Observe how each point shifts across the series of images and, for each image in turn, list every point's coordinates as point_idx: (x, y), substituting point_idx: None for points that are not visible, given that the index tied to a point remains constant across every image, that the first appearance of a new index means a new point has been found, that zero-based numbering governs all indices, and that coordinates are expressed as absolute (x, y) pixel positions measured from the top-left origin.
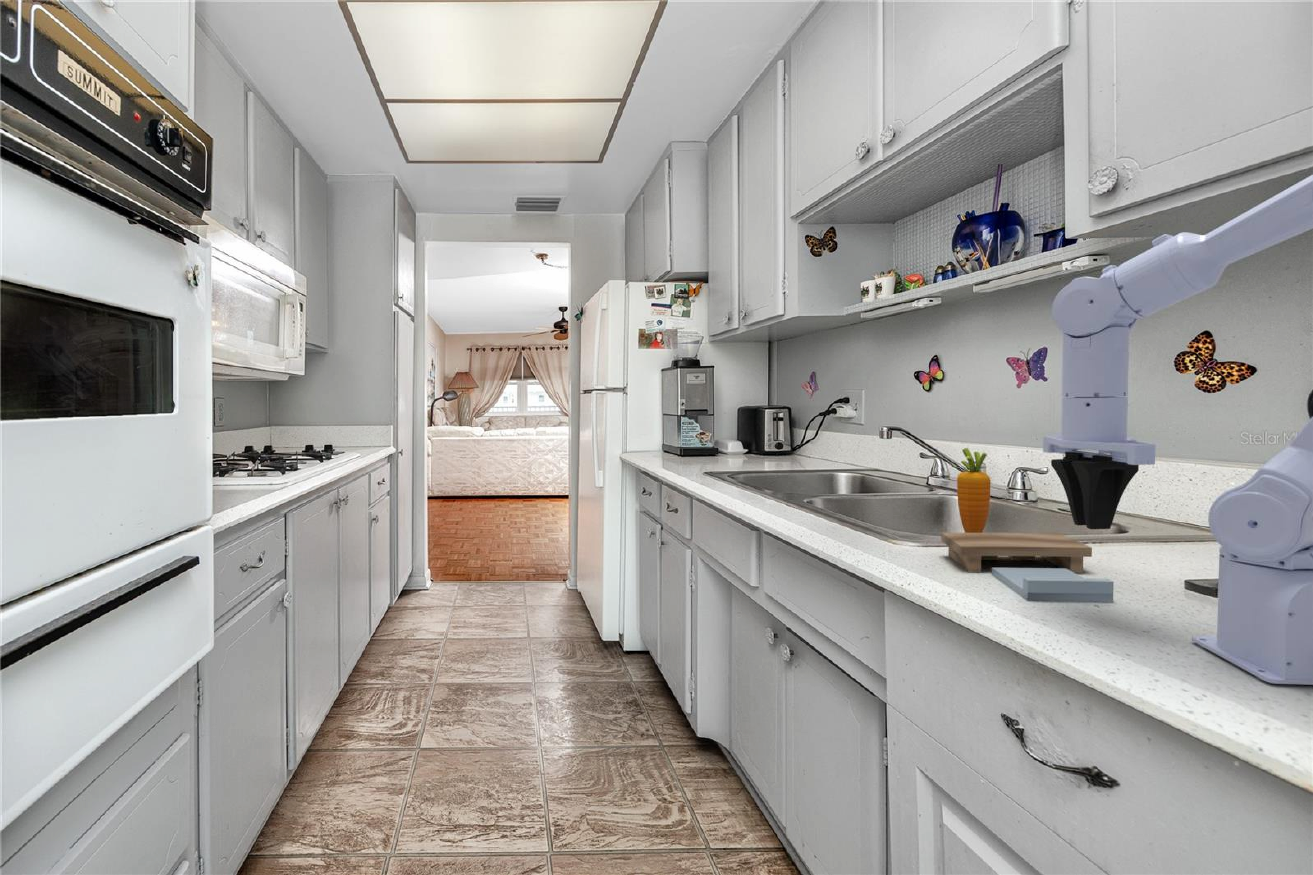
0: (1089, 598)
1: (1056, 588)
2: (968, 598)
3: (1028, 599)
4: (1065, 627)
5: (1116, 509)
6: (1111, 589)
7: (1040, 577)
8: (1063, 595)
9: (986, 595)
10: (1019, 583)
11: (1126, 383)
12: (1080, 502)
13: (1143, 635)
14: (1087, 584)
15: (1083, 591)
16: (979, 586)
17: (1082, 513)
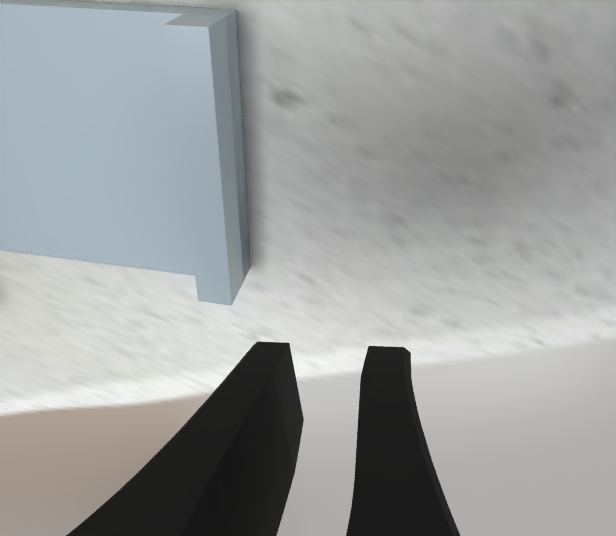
0: (235, 98)
1: (232, 215)
2: None
3: (248, 266)
4: (486, 292)
5: (419, 430)
6: (219, 27)
7: (52, 162)
8: (239, 184)
9: (213, 335)
10: (146, 257)
11: None
12: (264, 527)
13: (593, 127)
14: (220, 125)
15: (230, 128)
16: (130, 315)
17: (284, 458)
